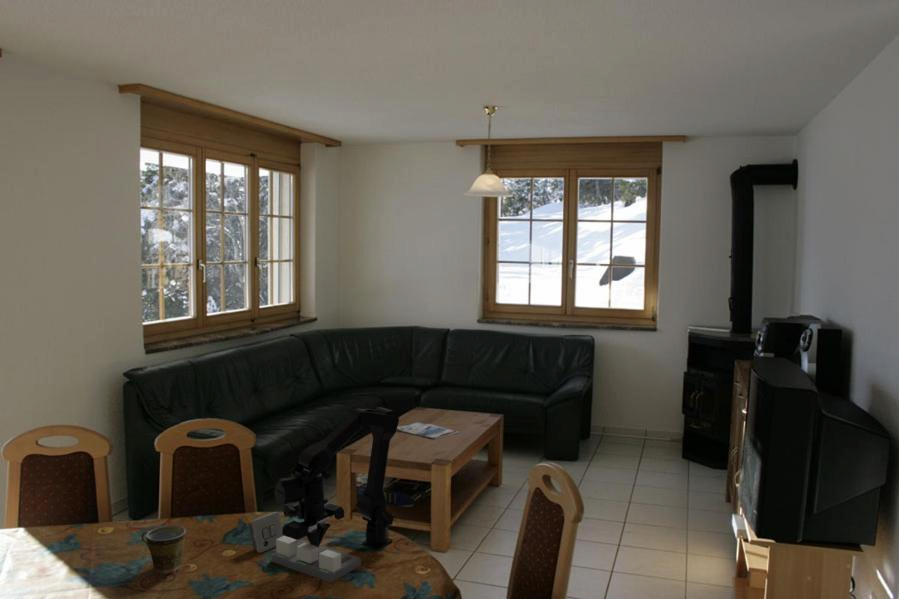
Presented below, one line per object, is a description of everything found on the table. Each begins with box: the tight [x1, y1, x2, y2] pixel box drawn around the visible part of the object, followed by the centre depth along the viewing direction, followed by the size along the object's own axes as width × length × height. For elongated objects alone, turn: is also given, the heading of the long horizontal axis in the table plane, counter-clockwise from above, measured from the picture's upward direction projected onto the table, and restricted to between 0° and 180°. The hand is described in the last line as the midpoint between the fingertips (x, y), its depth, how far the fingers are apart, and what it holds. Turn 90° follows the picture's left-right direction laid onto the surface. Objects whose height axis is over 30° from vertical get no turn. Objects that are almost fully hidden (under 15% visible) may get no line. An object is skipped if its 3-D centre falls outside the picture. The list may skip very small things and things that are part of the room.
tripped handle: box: [297, 543, 318, 564], centre depth 206 cm, size 3×5×4 cm, turn 56°
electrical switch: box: [248, 511, 283, 554], centre depth 219 cm, size 9×5×9 cm, turn 141°
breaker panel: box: [270, 536, 362, 583], centre depth 208 cm, size 12×22×6 cm, turn 56°
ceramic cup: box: [141, 525, 187, 575], centre depth 205 cm, size 13×10×10 cm
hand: (314, 551), depth 208 cm, fingers closed
